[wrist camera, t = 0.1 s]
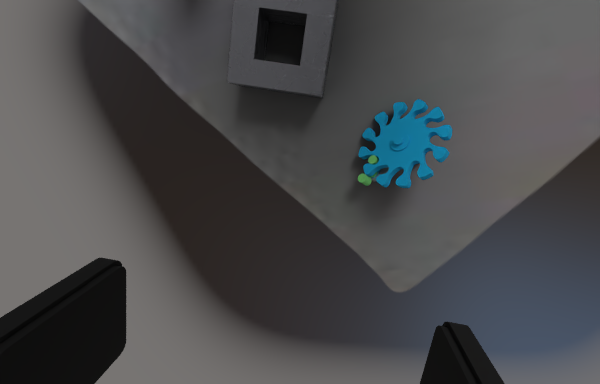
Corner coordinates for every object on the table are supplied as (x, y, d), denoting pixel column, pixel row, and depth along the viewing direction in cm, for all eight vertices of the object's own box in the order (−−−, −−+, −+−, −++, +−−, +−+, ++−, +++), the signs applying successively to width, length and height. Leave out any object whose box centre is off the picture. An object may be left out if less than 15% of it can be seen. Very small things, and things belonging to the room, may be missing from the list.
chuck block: (249, -8, 36) (236, -26, 31) (337, 4, 35) (338, -13, 30) (240, 85, 38) (226, 81, 33) (323, 98, 38) (321, 96, 33)
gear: (412, 79, 35) (471, 139, 29) (430, 105, 39) (484, 162, 33) (335, 146, 39) (374, 210, 33) (359, 163, 43) (397, 222, 37)
